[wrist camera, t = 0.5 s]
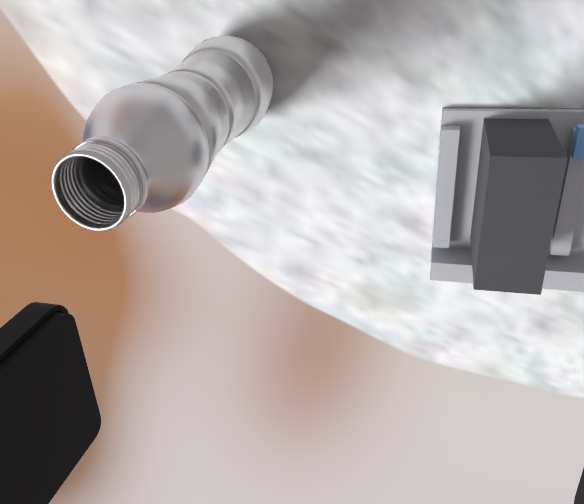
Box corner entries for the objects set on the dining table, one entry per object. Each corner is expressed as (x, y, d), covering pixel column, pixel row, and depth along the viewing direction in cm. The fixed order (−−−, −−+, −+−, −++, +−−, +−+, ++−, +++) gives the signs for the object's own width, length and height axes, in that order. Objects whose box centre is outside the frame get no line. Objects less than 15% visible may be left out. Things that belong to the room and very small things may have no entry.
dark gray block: (483, 118, 37) (490, 156, 31) (548, 119, 36) (567, 158, 30) (470, 237, 42) (473, 289, 36) (527, 240, 41) (540, 294, 35)
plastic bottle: (294, 54, 39) (177, 158, 22) (261, 138, 42) (140, 283, 26) (210, 13, 39) (28, 87, 22) (185, 101, 42) (13, 222, 26)
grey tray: (442, 108, 38) (442, 121, 36) (749, 110, 34) (773, 125, 31) (431, 259, 44) (429, 279, 42) (690, 277, 40) (706, 301, 37)
